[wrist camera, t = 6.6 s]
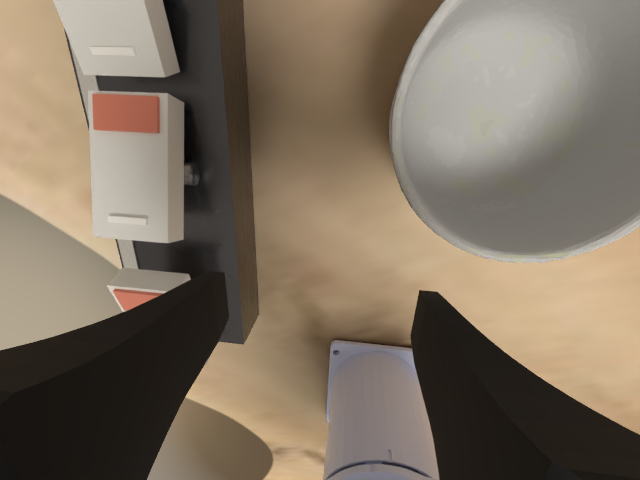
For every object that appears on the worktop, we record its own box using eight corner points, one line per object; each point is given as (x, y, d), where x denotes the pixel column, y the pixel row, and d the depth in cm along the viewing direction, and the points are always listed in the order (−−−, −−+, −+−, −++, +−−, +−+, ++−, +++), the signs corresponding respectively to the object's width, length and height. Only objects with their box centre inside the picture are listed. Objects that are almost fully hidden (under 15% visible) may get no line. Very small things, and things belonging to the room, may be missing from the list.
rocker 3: (214, 345, 22) (205, 366, 20) (161, 339, 22) (148, 359, 21) (188, 273, 17) (174, 295, 16) (122, 267, 18) (104, 288, 16)
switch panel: (258, 314, 25) (237, 356, 21) (165, 304, 26) (126, 343, 21) (238, -77, 16) (192, -149, 11) (93, -74, 16) (-3, -140, 12)
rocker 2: (183, 239, 16) (165, 243, 15) (114, 233, 17) (89, 237, 15) (184, 102, 15) (164, 91, 14) (110, 99, 16) (84, 88, 14)
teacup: (375, 206, 20) (383, 259, 13) (385, 8, 16) (406, -77, 9) (606, 209, 19) (765, 273, 11) (683, -10, 15) (1013, -133, 7)
